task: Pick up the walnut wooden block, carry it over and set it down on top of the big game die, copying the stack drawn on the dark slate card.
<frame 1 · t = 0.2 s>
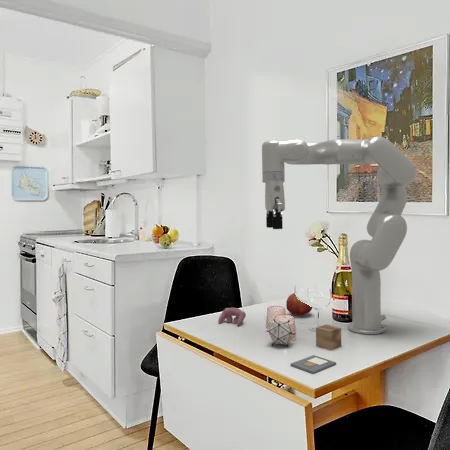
hand: (274, 228, 148), 37 cm above the table, tool pointing down, fingers open, 9 cm apart
game die: (281, 345, 139), on the table
video game controller: (232, 324, 165), on the table
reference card: (313, 365, 121), on the table
fruit: (299, 315, 174), on the table
walnut block: (328, 346, 136), on the table
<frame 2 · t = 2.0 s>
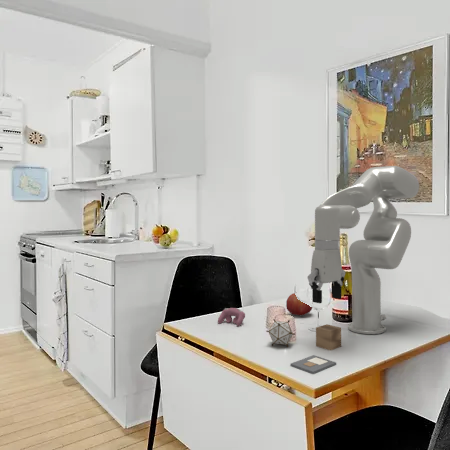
hand: (327, 300, 135), 15 cm above the table, tool pointing down, fingers open, 9 cm apart
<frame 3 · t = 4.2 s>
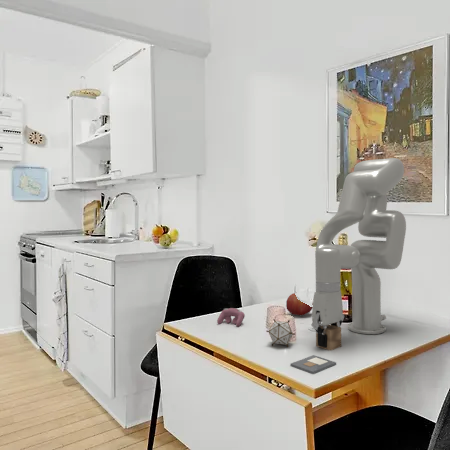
hand: (328, 343, 136), 1 cm above the table, tool pointing down, fingers closed on walnut block, 5 cm apart
walnut block: (328, 346, 136), on the table, touching gripper
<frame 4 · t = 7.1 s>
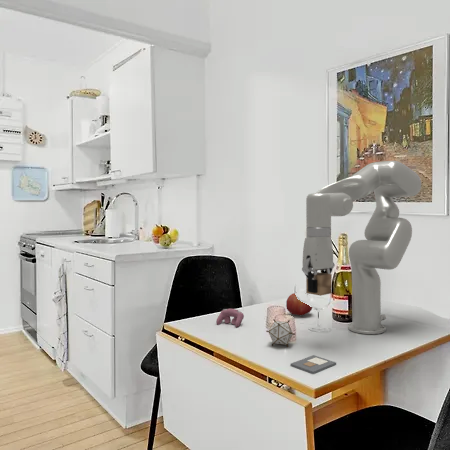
hand: (318, 290, 136), 18 cm above the table, tool pointing down, fingers closed on walnut block, 5 cm apart
walnut block: (318, 293, 136), point 17 cm above the table, touching gripper
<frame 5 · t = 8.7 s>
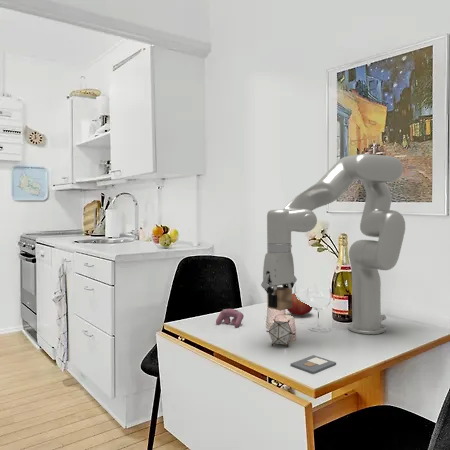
hand: (279, 305, 138), 13 cm above the table, tool pointing down, fingers closed on walnut block, 5 cm apart
walnut block: (279, 307, 138), point 12 cm above the table, touching gripper
when the fingers open (10 cm above the table, at t = 10.0 s): walnut block drops 1 cm, resting on game die.
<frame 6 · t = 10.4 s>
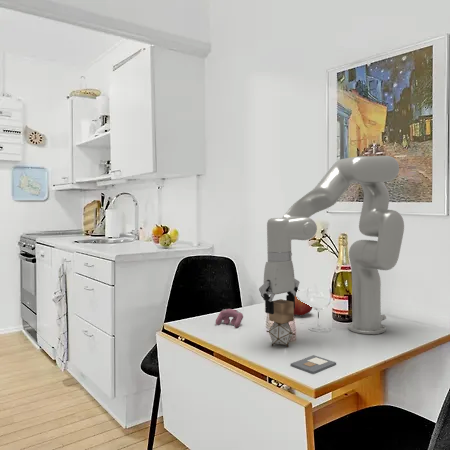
hand: (280, 310, 138), 11 cm above the table, tool pointing down, fingers open, 9 cm apart
game die: (281, 345, 138), on the table, touching walnut block
walnut block: (281, 320, 138), point 8 cm above the table, touching game die
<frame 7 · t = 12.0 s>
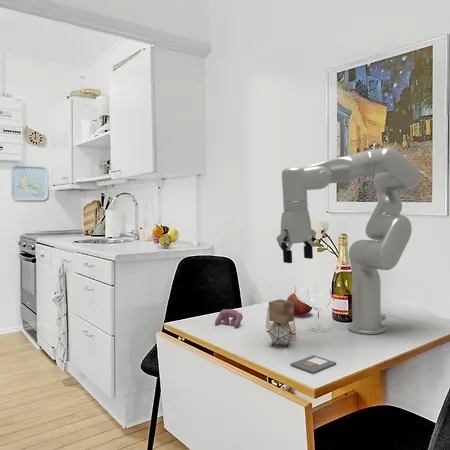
hand: (298, 260, 138), 27 cm above the table, tool pointing down, fingers open, 9 cm apart
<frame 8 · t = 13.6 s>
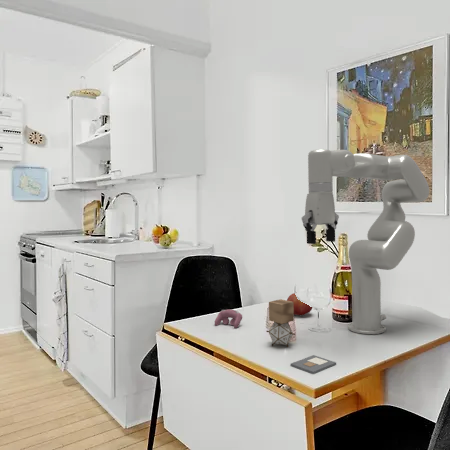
hand: (321, 242, 139), 32 cm above the table, tool pointing down, fingers open, 9 cm apart
at the end: walnut block 0.3 cm off-centre on the game die, point 8.2 cm above the game die's base; walnut block touching game die; the gripper is holding nothing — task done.
